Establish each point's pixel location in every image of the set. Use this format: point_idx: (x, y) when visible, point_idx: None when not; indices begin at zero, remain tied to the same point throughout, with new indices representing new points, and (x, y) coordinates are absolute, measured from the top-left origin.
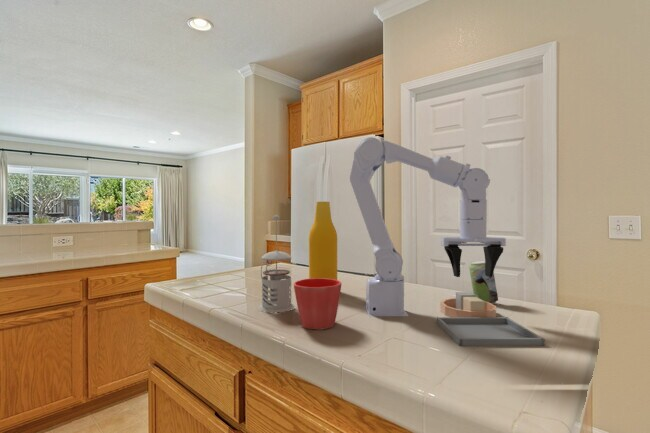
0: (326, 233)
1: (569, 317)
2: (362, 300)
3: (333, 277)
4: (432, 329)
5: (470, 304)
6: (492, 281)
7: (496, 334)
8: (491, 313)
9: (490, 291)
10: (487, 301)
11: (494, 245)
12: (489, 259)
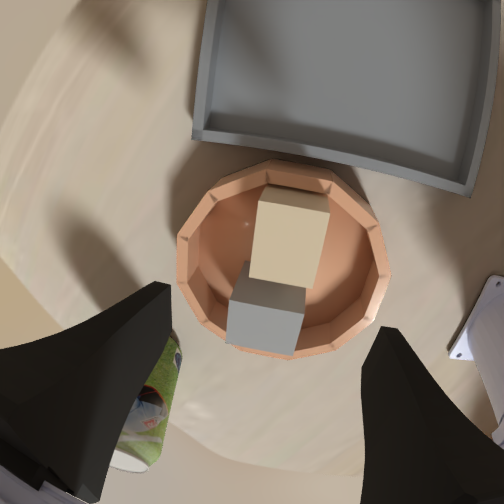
0: None
1: (12, 192)
2: (474, 413)
3: None
4: (489, 159)
5: (328, 209)
6: None
7: (325, 25)
8: (235, 178)
9: None
10: None
11: (7, 458)
12: (108, 383)
